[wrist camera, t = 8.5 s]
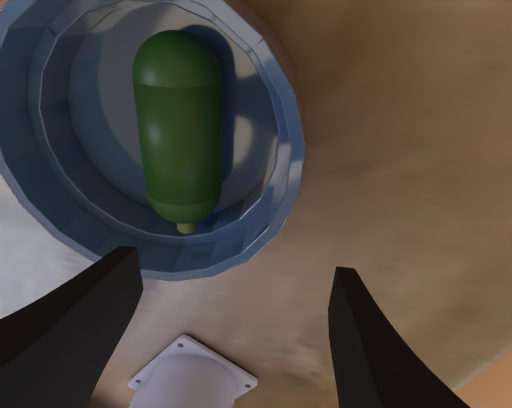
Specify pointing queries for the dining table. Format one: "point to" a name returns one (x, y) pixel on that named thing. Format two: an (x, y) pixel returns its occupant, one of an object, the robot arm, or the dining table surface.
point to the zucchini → (179, 125)
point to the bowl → (127, 134)
